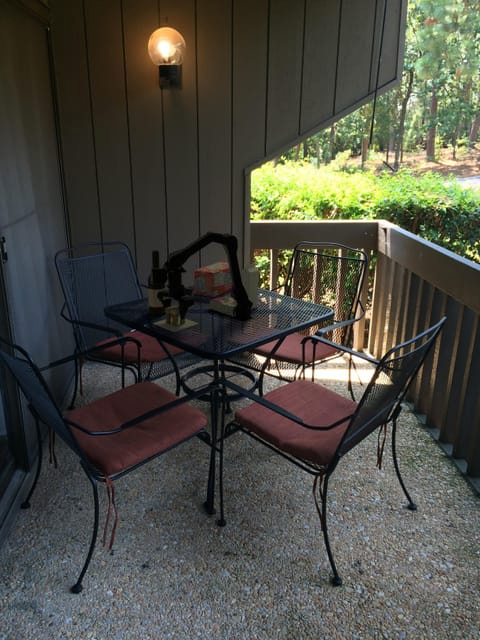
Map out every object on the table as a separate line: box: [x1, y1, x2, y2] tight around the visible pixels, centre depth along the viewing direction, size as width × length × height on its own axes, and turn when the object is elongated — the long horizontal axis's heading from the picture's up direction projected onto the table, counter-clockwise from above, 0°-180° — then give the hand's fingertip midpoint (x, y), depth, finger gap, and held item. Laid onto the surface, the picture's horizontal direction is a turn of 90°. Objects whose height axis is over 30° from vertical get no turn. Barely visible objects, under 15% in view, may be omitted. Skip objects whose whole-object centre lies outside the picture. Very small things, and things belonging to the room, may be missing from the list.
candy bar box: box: [209, 295, 237, 318], centre depth 238 cm, size 11×5×16 cm
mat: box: [152, 315, 199, 333], centre depth 218 cm, size 14×14×1 cm
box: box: [193, 261, 233, 298], centre depth 270 cm, size 27×13×14 cm, turn 152°
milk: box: [240, 262, 260, 310], centre depth 241 cm, size 6×6×22 cm
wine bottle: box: [147, 249, 166, 317], centre depth 228 cm, size 8×8×30 cm
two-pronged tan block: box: [165, 305, 186, 326], centre depth 217 cm, size 6×6×7 cm
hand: (175, 316), depth 217 cm, fingers open, 9 cm apart
